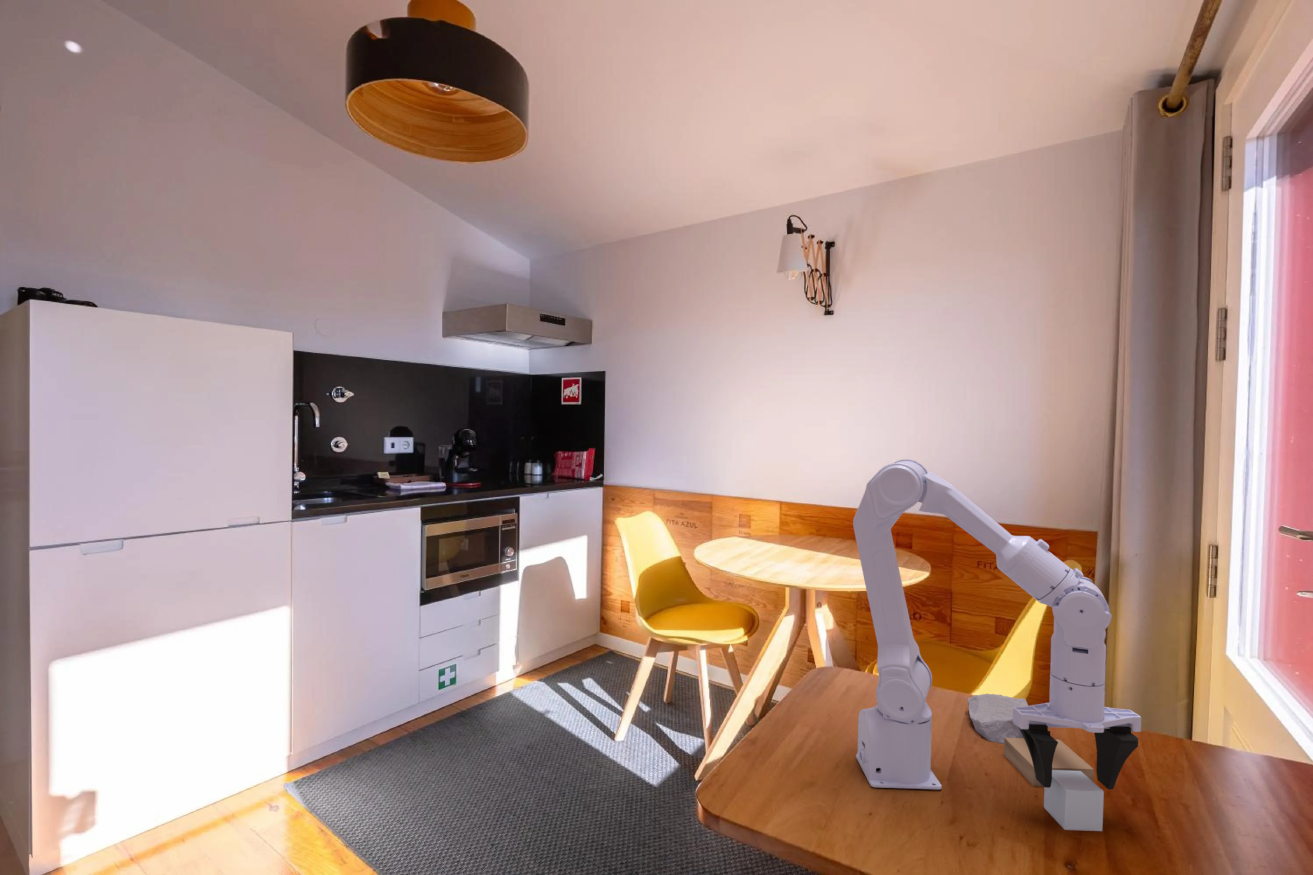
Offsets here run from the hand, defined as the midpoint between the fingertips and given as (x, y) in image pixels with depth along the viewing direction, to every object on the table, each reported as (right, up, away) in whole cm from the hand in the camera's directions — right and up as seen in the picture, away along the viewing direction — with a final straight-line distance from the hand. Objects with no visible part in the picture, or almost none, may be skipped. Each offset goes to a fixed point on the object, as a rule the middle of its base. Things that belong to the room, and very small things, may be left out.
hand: (1074, 783), depth 80 cm
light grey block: (0, -5, 0) cm, 5 cm away
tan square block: (+3, -5, +11) cm, 12 cm away
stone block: (+4, -4, +24) cm, 25 cm away
